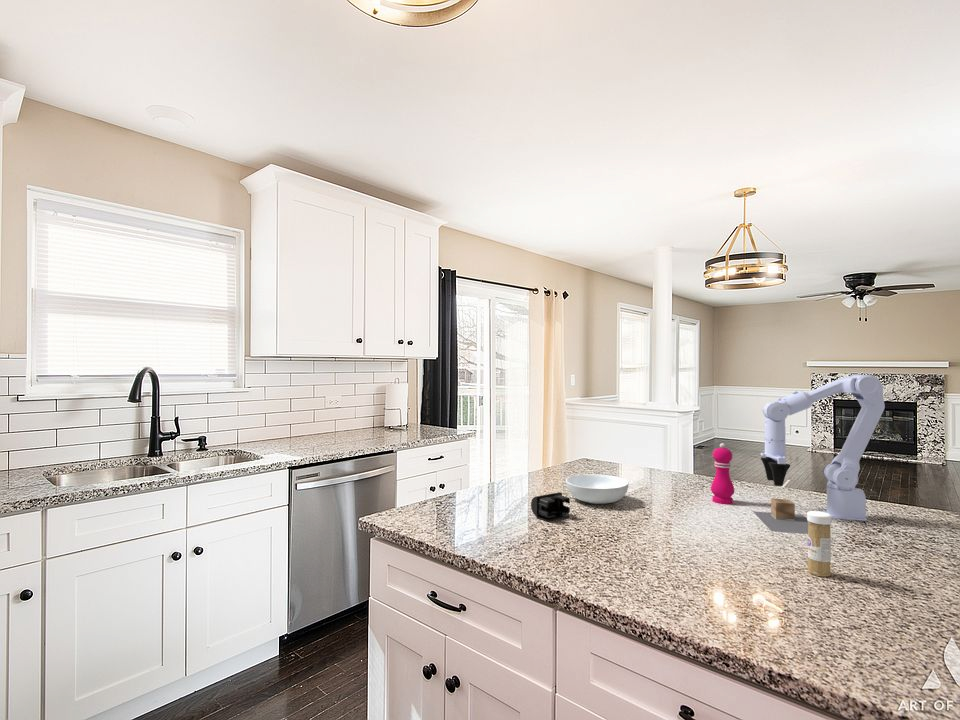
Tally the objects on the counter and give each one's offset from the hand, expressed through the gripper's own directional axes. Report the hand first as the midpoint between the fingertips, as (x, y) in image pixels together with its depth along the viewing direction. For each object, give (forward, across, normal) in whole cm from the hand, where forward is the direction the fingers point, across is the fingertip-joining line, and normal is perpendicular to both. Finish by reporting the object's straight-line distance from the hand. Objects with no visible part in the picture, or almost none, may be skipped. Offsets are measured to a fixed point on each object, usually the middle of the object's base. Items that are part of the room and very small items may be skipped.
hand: (774, 482), depth 166 cm
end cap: (+10, +24, -68) cm, 73 cm away
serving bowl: (+10, +1, -55) cm, 56 cm away
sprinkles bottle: (+9, +52, -5) cm, 53 cm away
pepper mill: (+9, -7, -14) cm, 18 cm away
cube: (+9, +8, 0) cm, 12 cm away
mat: (+9, +13, 0) cm, 16 cm away
